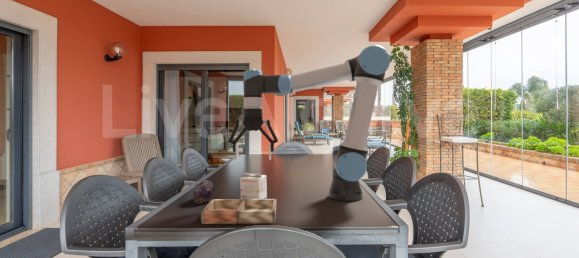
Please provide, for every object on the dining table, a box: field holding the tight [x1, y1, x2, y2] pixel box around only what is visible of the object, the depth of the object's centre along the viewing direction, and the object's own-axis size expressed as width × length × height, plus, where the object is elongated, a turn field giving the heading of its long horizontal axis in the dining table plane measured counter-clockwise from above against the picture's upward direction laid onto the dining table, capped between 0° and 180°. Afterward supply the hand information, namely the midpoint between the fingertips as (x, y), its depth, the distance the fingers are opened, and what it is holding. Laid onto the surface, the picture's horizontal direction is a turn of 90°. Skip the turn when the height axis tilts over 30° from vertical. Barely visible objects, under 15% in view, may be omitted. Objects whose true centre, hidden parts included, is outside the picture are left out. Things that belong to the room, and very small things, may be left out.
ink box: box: [239, 172, 268, 199], centre depth 134 cm, size 9×8×13 cm
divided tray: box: [200, 198, 277, 225], centre depth 118 cm, size 25×17×4 cm
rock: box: [192, 179, 216, 205], centre depth 139 cm, size 12×9×10 cm
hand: (253, 159), depth 134 cm, fingers open, 13 cm apart
